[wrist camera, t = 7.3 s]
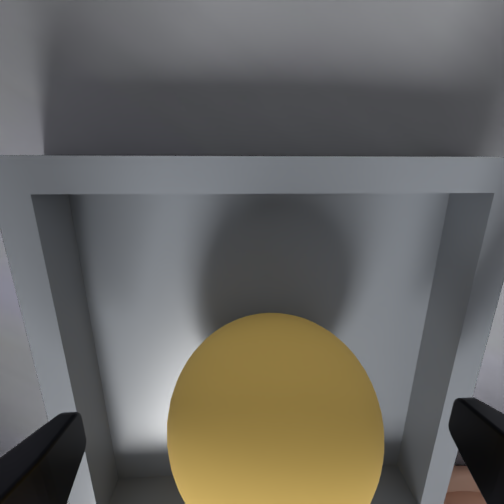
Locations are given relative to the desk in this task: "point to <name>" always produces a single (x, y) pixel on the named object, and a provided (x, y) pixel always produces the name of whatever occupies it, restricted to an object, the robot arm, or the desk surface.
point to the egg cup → (463, 488)
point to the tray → (251, 290)
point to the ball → (274, 418)
